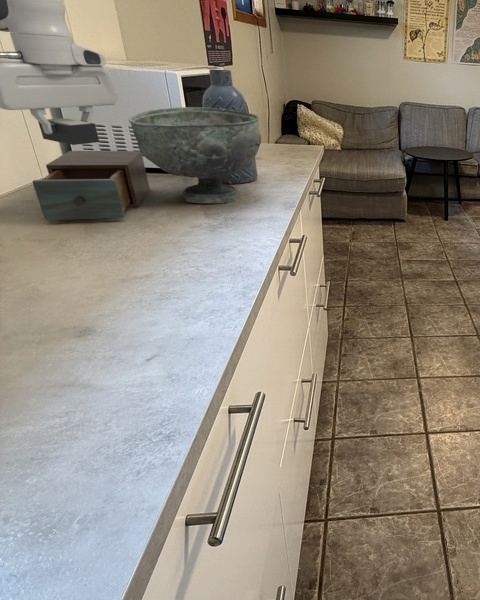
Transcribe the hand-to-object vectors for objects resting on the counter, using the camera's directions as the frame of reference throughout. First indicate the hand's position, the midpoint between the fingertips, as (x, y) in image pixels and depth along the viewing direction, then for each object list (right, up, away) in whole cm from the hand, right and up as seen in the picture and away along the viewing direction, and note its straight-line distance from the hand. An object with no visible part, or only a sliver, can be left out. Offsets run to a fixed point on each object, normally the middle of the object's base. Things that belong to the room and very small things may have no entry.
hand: (69, 131), depth 93 cm
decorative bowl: (+15, -8, +25) cm, 30 cm away
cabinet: (-6, -9, +18) cm, 21 cm away
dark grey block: (0, -2, +1) cm, 2 cm away
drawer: (-2, -14, +9) cm, 16 cm away
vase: (+13, +1, +42) cm, 44 cm away
